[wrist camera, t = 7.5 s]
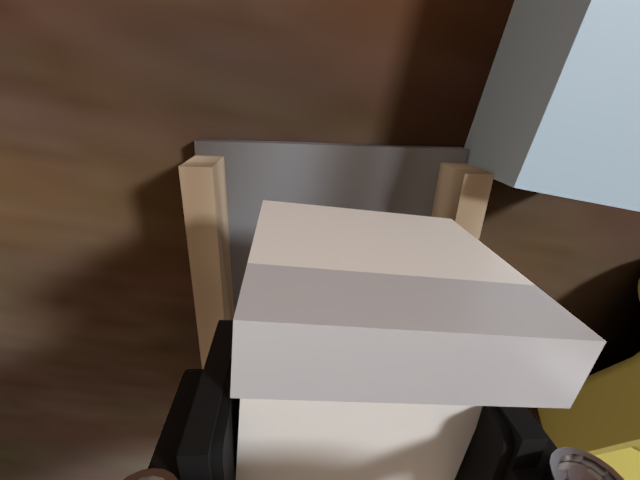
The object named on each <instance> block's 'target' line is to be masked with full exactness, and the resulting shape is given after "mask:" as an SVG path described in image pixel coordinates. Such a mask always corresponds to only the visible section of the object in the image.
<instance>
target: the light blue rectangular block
mask: <svg viewBox="0 0 640 480" xmlns="http://www.w3.org/2000/svg"><path fill="white" fill-rule="evenodd" d="M464 148H466V149H469V152H468V157H467V162H466V163H467V164H470V165H472V166H475V167H477V168H480V169H482V170H484V171H487V172H489V173H492V174H494V178H493V179H495V180H497V181H499V182H502V183H504V184H506V185H508V186H511V187H513V188H518V189H523V190H528V191H533V192H539V193H544V194H549V195H555V196H560V197H565V198H570V199H576V200H581V201H586V202H592V203H597V204H602V205H607V206H613V207H618V208H623V209H628V210H634V211H639V212H640V0H514V3H513V6H512V9H511V12H510V15H509V18H508V21H507V24H506V27H505V30H504V32H503V35H502V38H501V41H500V44H499V47H498V50H497V53H496V56H495V59H494V62H493V64H492V67H491V70H490V73H489V76H488V79H487V82H486V85H485V88H484V91H483V94H482V97H481V99H480V102H479V105H478V108H477V111H476V114H475V117H474V120H473V123H472V126H471V129H470V131H469V134H468V137H467V140H466V143H465V146H464Z"/></svg>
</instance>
